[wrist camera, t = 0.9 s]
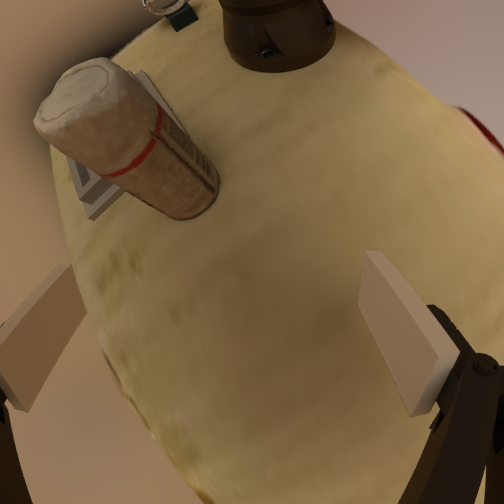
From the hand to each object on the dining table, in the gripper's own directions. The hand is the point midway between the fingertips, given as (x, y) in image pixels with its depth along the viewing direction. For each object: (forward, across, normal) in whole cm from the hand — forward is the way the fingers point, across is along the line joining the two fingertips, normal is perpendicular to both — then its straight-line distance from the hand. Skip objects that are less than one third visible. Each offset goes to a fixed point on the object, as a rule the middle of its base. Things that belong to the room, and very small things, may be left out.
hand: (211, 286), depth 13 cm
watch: (+44, -8, +26) cm, 51 cm away
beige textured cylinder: (+24, -5, -1) cm, 25 cm away
